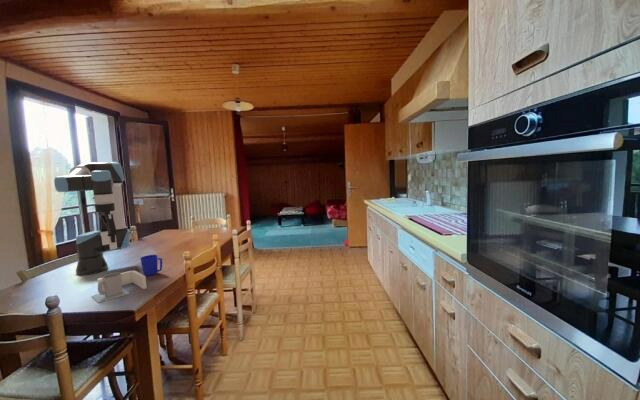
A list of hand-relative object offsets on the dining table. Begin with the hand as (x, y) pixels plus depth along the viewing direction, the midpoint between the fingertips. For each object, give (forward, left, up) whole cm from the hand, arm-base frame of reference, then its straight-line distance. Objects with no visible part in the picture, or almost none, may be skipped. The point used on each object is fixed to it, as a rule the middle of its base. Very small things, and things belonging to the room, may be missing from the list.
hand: (109, 246), depth 142 cm
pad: (+7, -3, -22) cm, 23 cm away
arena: (+3, +3, -21) cm, 22 cm away
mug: (-8, +21, -22) cm, 31 cm away
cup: (+7, -3, -21) cm, 23 cm away
